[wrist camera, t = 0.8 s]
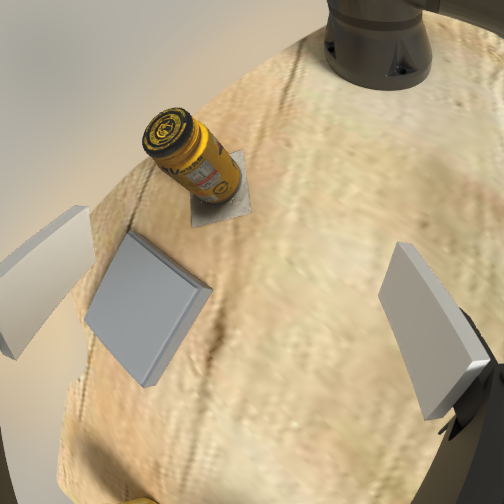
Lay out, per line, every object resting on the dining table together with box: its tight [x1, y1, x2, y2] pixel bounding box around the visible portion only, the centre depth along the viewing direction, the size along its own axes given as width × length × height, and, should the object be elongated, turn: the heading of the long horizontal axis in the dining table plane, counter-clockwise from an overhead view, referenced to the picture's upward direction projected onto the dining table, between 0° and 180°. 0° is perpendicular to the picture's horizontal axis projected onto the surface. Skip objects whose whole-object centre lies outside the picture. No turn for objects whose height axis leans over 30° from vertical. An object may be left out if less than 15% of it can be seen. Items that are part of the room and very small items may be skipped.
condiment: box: [142, 108, 251, 228], centre depth 30 cm, size 7×8×12 cm
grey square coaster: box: [84, 231, 213, 388], centre depth 34 cm, size 14×13×3 cm
